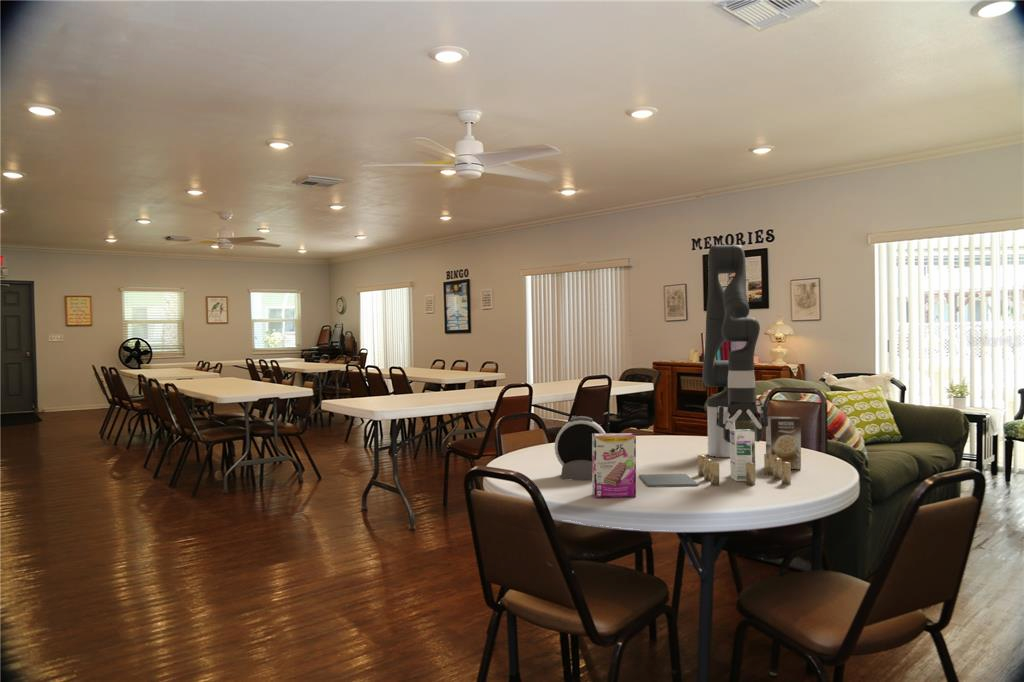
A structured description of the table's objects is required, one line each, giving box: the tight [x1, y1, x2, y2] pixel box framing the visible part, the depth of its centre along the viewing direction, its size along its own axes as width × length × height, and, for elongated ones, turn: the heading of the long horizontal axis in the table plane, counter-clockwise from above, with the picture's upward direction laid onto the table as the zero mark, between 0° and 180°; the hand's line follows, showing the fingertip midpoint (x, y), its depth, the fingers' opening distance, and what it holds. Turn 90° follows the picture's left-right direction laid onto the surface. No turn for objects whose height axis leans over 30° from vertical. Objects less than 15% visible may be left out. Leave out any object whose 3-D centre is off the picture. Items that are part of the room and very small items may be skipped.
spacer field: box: [697, 453, 792, 486], centre depth 196 cm, size 15×22×6 cm
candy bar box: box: [591, 432, 637, 499], centre depth 179 cm, size 11×5×16 cm, turn 92°
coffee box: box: [765, 415, 802, 471], centre depth 212 cm, size 9×6×16 cm
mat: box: [638, 473, 699, 487], centre depth 196 cm, size 14×14×1 cm
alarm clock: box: [554, 415, 607, 481], centre depth 204 cm, size 16×10×18 cm, turn 81°
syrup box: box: [729, 428, 757, 482], centre depth 196 cm, size 6×6×14 cm
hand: (742, 441), depth 196 cm, fingers open, 8 cm apart
